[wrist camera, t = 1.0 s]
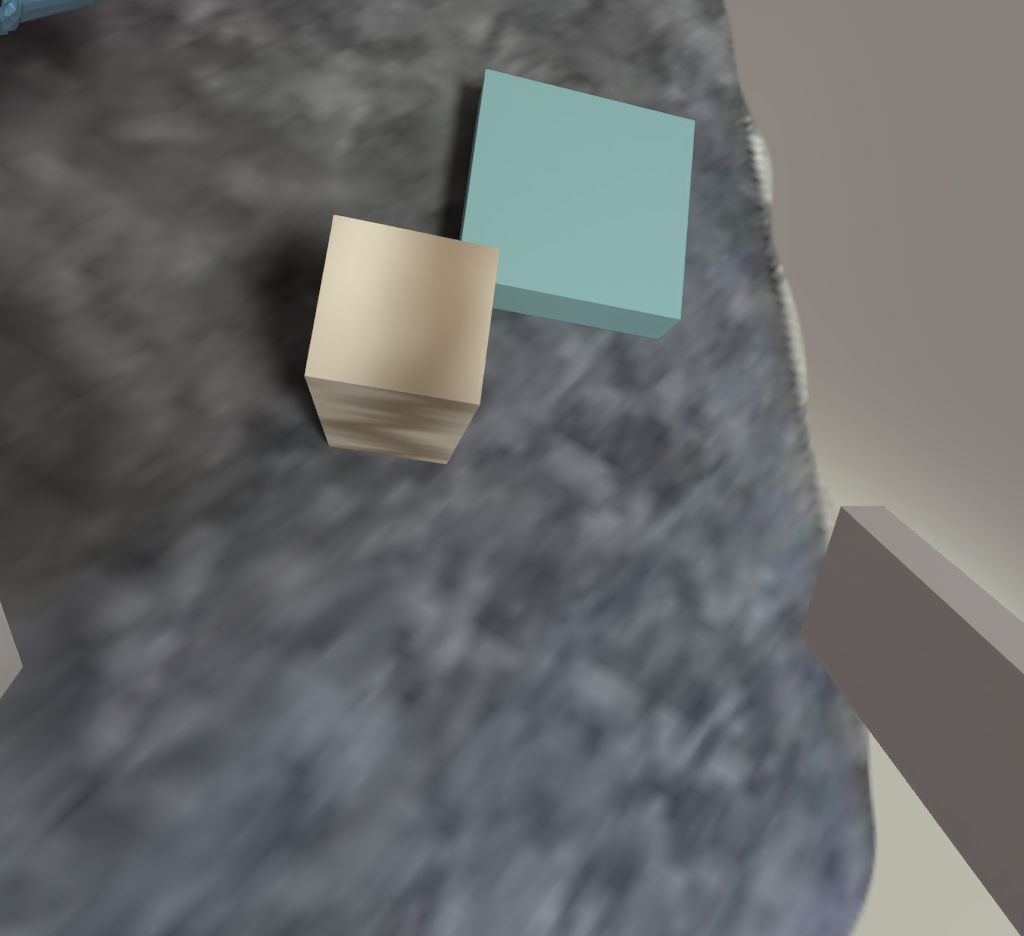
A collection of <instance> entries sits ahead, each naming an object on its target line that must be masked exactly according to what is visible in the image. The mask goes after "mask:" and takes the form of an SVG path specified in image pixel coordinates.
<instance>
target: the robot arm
mask: <svg viewBox="0 0 1024 936" xmlns="http://www.w3.org/2000/svg"><path fill="white" fill-rule="evenodd" d="M97 1H99V0H0V35H4V34H8V32H9V31H14V30H15V29H16V28H17V27H18V25H19V23H22V22H26V21H31V20H35V19H39V18H43V17H47V16H52V15H56V14H60V13H64V12H69V11H73V10H77V9H81V8H86V7H88V6H91V5H93V4H94V3H95V2H97ZM800 637H801V639H802V640H803V641H804V643H805V644H806V645H807V647H808V648H809V649H810V651H811V652H812V654H813V655H814V656H815V658H816V659H817V660H818V662H819V663H820V664H821V666H822V667H823V668H824V670H825V671H826V673H827V674H828V675H829V677H830V678H831V679H832V681H833V682H834V683H835V685H836V686H837V687H838V689H839V690H840V691H841V693H842V694H843V696H844V697H845V698H846V700H847V701H848V702H849V704H850V705H851V706H852V708H853V709H854V710H855V712H856V713H857V715H858V716H859V717H860V719H861V720H862V721H863V723H864V724H865V725H866V727H867V728H868V729H869V731H870V732H871V733H872V735H873V736H874V738H875V739H876V740H877V741H878V743H879V744H880V746H881V747H882V748H883V750H884V751H885V752H886V754H887V755H888V757H889V758H890V759H891V761H892V762H893V763H894V765H895V766H896V767H897V769H898V770H899V771H900V773H901V774H902V776H903V777H904V778H905V779H906V781H907V782H908V784H909V785H910V786H911V788H912V789H913V790H914V792H915V793H916V794H917V796H918V797H919V799H920V800H921V801H922V803H923V804H924V805H925V807H926V808H927V809H928V811H929V812H930V813H931V815H932V816H933V818H934V819H935V820H936V822H937V823H938V824H939V826H940V827H941V828H942V830H943V831H944V832H945V834H946V835H947V836H948V838H949V839H950V841H951V842H952V843H953V845H954V846H955V847H956V849H957V850H958V851H959V853H960V854H961V855H962V857H963V858H964V860H965V861H966V862H967V864H968V865H969V866H970V868H971V869H972V870H973V872H974V873H975V874H976V876H977V877H978V878H979V880H980V881H981V883H982V884H983V885H984V887H985V888H986V889H987V891H988V892H989V893H990V895H991V896H992V897H993V899H994V900H995V902H996V903H997V904H998V906H999V907H1000V908H1001V910H1002V911H1003V912H1004V914H1005V915H1006V916H1007V918H1008V919H1009V920H1010V922H1011V923H1012V925H1013V926H1014V927H1015V929H1016V930H1017V931H1018V933H1019V934H1020V935H1021V936H1024V623H1023V622H1022V621H1021V620H1019V619H1018V618H1017V617H1016V616H1015V615H1013V614H1012V613H1011V612H1010V611H1008V610H1007V609H1006V608H1005V607H1004V606H1003V605H1001V604H1000V603H999V602H998V601H997V600H995V599H994V598H993V597H992V596H991V595H990V594H988V593H987V592H986V591H985V590H984V589H982V588H981V587H980V586H979V585H978V584H976V583H975V582H974V581H973V580H971V579H970V578H969V577H968V576H967V575H965V574H964V573H963V572H962V571H961V570H960V569H958V568H957V567H956V566H955V565H954V564H952V563H951V562H950V561H949V560H947V559H946V558H945V557H944V556H943V555H942V554H940V553H939V552H938V551H937V550H936V549H934V548H933V547H932V546H931V545H930V544H928V543H927V542H926V541H925V540H923V539H922V538H921V537H920V536H919V535H918V534H916V533H915V532H914V531H913V530H911V529H910V528H909V527H908V526H907V525H906V524H904V523H903V522H902V521H901V520H900V519H898V518H897V517H896V516H895V515H894V514H892V513H891V512H890V511H889V510H888V509H886V508H885V507H884V506H841V508H840V511H839V514H838V517H837V520H836V524H835V527H834V530H833V533H832V536H831V539H830V542H829V545H828V548H827V552H826V555H825V558H824V561H823V564H822V567H821V570H820V573H819V577H818V580H817V583H816V586H815V589H814V592H813V595H812V598H811V601H810V605H809V608H808V611H807V614H806V617H805V620H804V623H803V626H802V630H801V633H800ZM22 667H23V666H22V663H21V660H20V657H19V654H18V651H17V649H16V646H15V643H14V640H13V637H12V634H11V631H10V628H9V625H8V623H7V620H6V617H5V614H4V611H3V608H2V605H1V602H0V698H1V697H2V695H3V694H4V693H5V691H6V690H7V688H8V687H9V686H10V684H11V683H12V681H13V680H14V679H15V677H16V676H17V674H18V673H19V672H20V670H21V669H22Z"/></svg>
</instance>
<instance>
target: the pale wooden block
mask: <svg viewBox="0 0 1024 936" xmlns="http://www.w3.org/2000/svg"><path fill="white" fill-rule="evenodd" d="M499 252H500V249H499V248H494V247H489V246H484V245H479V244H474V243H470V242H465V241H460V240H455V239H450V238H445V237H440V236H435V235H431V234H426V233H421V232H416V231H411V230H406V229H401V228H396V227H391V226H387V225H382V224H377V223H372V222H367V221H362V220H357V219H352V218H348V217H343V216H338V215H334V217H333V222H332V228H331V233H330V239H329V244H328V250H327V255H326V261H325V266H324V272H323V277H322V282H321V288H320V293H319V299H318V304H317V310H316V315H315V321H314V326H313V332H312V337H311V343H310V348H309V354H308V359H307V365H306V370H305V379H306V381H307V384H308V387H309V390H310V393H311V396H312V399H313V402H314V404H315V407H316V410H317V413H318V416H319V419H320V422H321V424H322V427H323V430H324V433H325V436H326V439H327V442H328V444H329V447H336V448H343V449H349V450H356V451H363V452H369V453H376V454H383V455H389V456H396V457H403V458H409V459H416V460H423V461H430V462H436V463H443V464H447V462H448V461H449V459H450V457H451V455H452V453H453V452H454V450H455V448H456V446H457V444H458V443H459V441H460V439H461V437H462V436H463V434H464V432H465V430H466V428H467V427H468V425H469V423H470V421H471V419H472V418H473V416H474V414H475V412H476V410H477V409H478V407H479V405H480V398H481V391H482V383H483V375H484V368H485V360H486V352H487V344H488V337H489V329H490V321H491V313H492V306H493V298H494V290H495V283H496V275H497V267H498V259H499Z"/></svg>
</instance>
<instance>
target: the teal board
mask: <svg viewBox="0 0 1024 936" xmlns="http://www.w3.org/2000/svg"><path fill="white" fill-rule="evenodd" d="M694 126H695V121H694V120H690V119H686V118H682V117H678V116H674V115H669V114H665V113H661V112H657V111H653V110H649V109H645V108H641V107H637V106H633V105H629V104H625V103H621V102H617V101H613V100H609V99H605V98H601V97H597V96H593V95H589V94H585V93H581V92H577V91H573V90H569V89H565V88H561V87H557V86H553V85H549V84H545V83H541V82H537V81H533V80H529V79H525V78H521V77H517V76H513V75H509V74H505V73H501V72H497V71H493V70H488V69H486V71H485V75H484V80H483V85H482V90H481V95H480V100H479V104H478V110H477V117H476V124H475V131H474V138H473V145H472V152H471V159H470V166H469V173H468V180H467V187H466V194H465V201H464V208H463V215H462V222H461V230H460V237H459V240H460V241H465V242H470V243H474V244H479V245H484V246H489V247H494V248H499V249H500V252H499V259H498V267H497V275H496V283H495V290H494V298H493V306H492V308H496V309H501V310H506V311H512V312H517V313H522V314H527V315H533V316H538V317H543V318H548V319H554V320H559V321H564V322H569V323H575V324H580V325H585V326H591V327H596V328H601V329H606V330H612V331H617V332H622V333H627V334H633V335H638V336H643V337H648V338H654V339H659V338H660V337H661V336H662V335H664V334H665V333H666V332H667V331H668V330H669V329H670V328H671V327H673V326H674V325H675V324H676V323H677V322H678V321H679V320H680V319H681V306H682V292H683V278H684V264H685V250H686V237H687V223H688V209H689V195H690V181H691V167H692V154H693V140H694Z"/></svg>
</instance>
